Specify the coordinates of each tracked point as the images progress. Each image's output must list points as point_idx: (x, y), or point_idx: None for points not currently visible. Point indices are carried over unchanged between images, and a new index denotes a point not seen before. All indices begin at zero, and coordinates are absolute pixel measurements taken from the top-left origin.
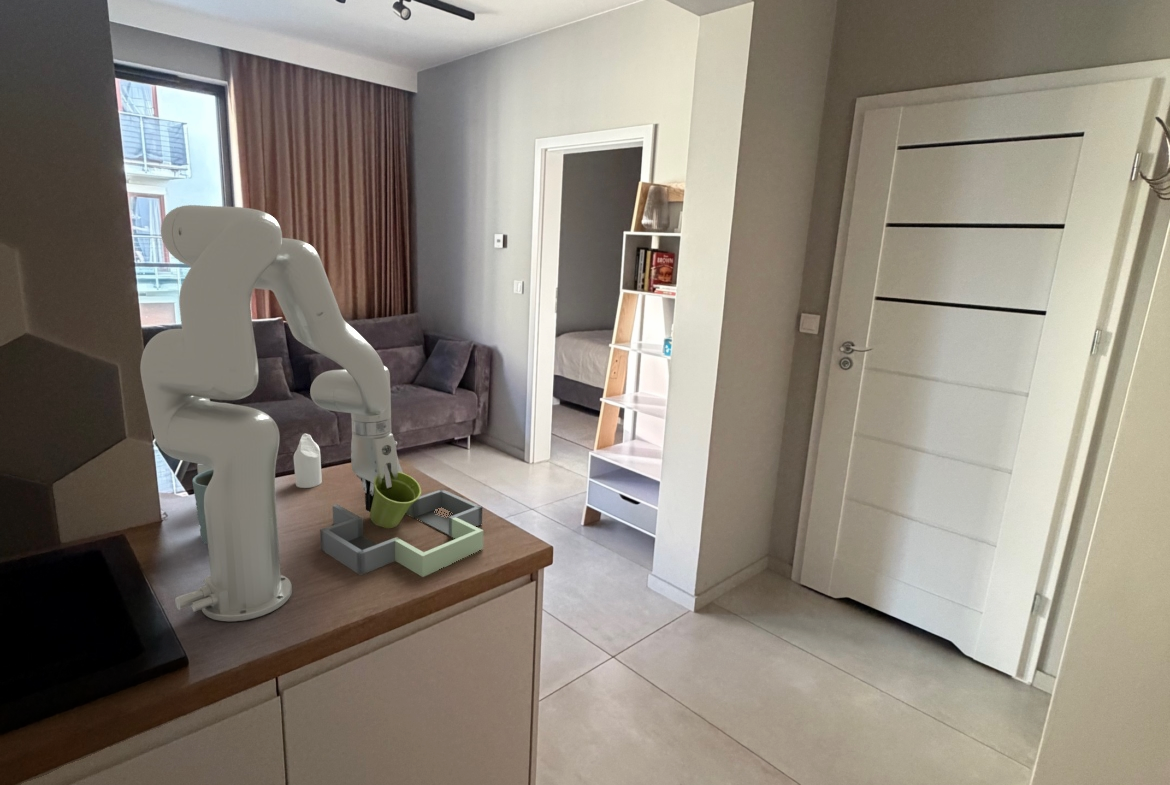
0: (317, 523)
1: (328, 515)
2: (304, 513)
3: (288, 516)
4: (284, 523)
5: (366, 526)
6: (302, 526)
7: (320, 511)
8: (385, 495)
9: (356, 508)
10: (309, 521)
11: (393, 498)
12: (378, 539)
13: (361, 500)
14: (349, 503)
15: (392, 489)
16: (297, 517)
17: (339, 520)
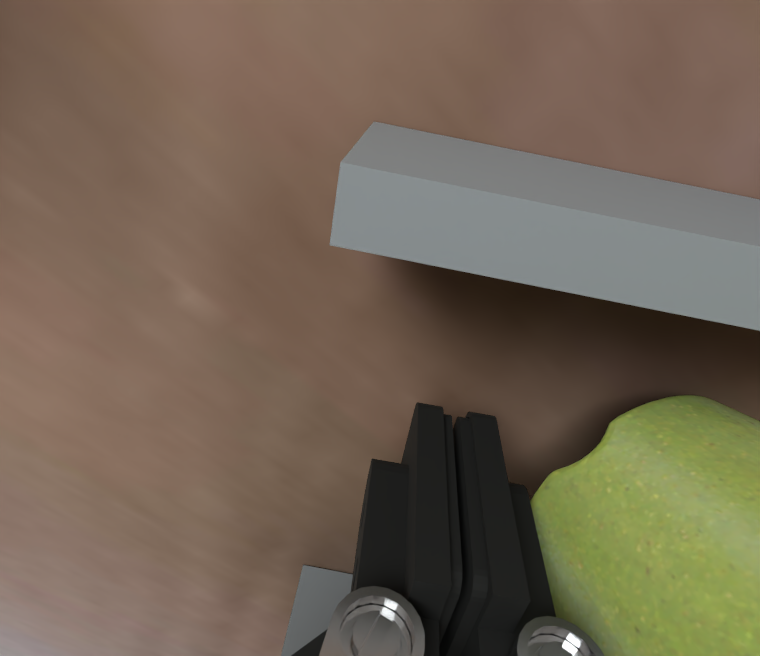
0: (224, 605)
1: (166, 528)
2: (45, 563)
3: (35, 609)
4: (108, 653)
5: None
6: (202, 645)
7: (74, 514)
8: (642, 637)
9: (192, 378)
10: (169, 606)
11: (712, 536)
12: None
13: (60, 241)
14: (61, 342)
15: None
16: (76, 601)
17: None
